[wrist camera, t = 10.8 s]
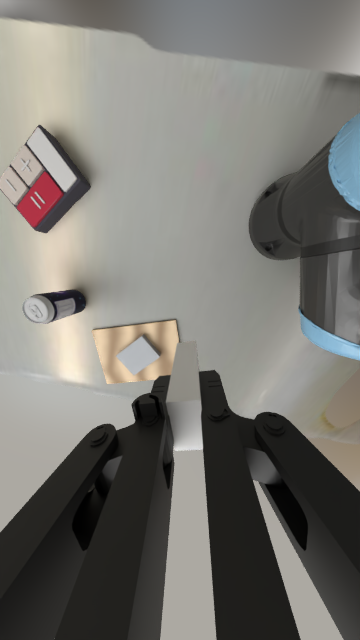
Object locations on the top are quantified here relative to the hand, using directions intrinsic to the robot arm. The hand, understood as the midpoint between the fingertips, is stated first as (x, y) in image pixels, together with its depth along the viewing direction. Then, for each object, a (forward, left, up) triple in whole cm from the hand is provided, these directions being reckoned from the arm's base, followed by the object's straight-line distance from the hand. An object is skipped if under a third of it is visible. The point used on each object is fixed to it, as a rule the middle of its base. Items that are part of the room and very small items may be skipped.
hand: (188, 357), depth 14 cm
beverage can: (+28, -4, -29) cm, 40 cm away
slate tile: (+11, +10, -27) cm, 31 cm away
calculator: (+27, -28, -29) cm, 49 cm away
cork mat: (+15, +12, -28) cm, 34 cm away
